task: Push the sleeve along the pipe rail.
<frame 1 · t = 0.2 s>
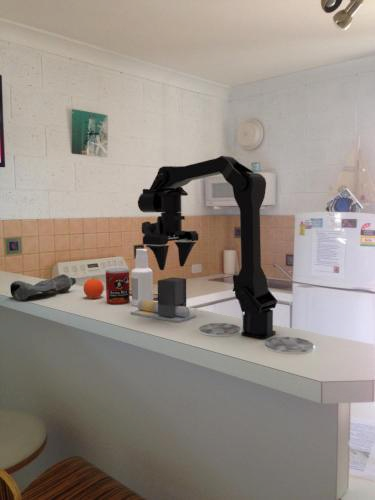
hand: (172, 268, 130), 14 cm above the table, tool pointing down, fingers open, 9 cm apart
sleeve: (172, 296, 132), point 6 cm above the table, slide at 0.0 cm
pipe rail: (162, 315, 135), on the table
clementine: (95, 298, 161), on the table
spray bottle: (142, 305, 150), on the table
canned food: (118, 302, 154), on the table
crushed bottle: (45, 296, 167), on the table
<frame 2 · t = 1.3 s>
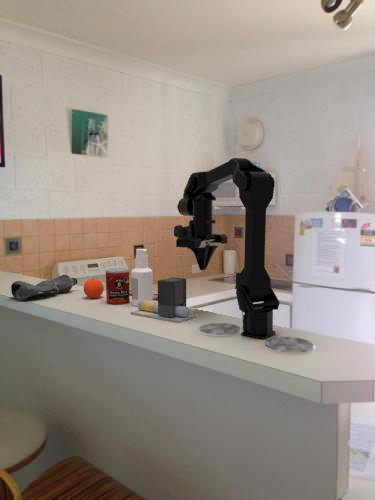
hand: (202, 269, 136), 13 cm above the table, tool pointing down, fingers closed
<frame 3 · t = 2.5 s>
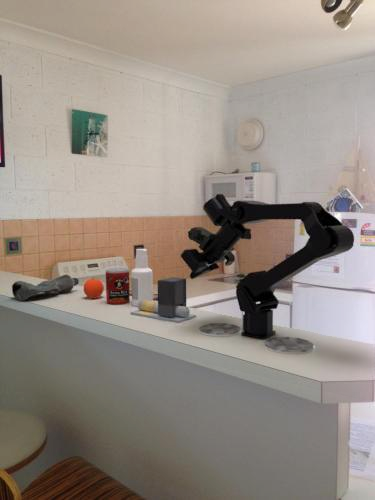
hand: (191, 277, 127), 12 cm above the table, tool tilted 45°, fingers closed
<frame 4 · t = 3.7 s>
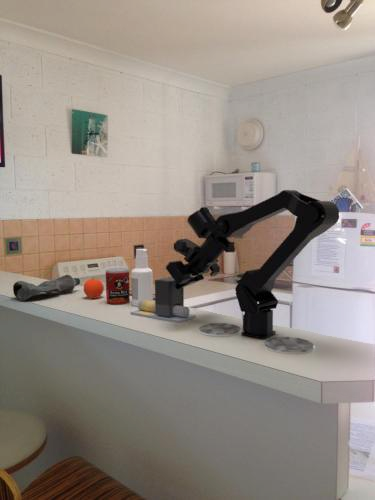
hand: (177, 287, 131), 9 cm above the table, tool tilted 45°, fingers closed, pressing on sleeve
sleeve: (169, 296, 133), point 6 cm above the table, slide at 1.0 cm, touching gripper
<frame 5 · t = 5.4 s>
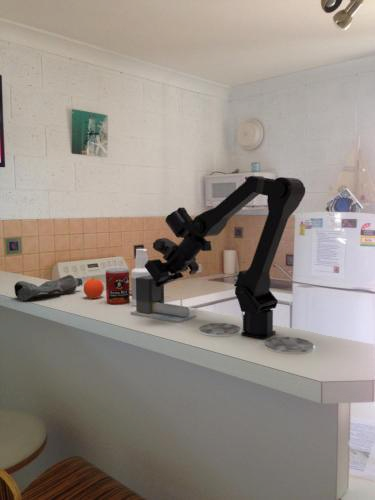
hand: (157, 285, 135), 9 cm above the table, tool tilted 45°, fingers closed
sleeve: (150, 293, 137), point 6 cm above the table, slide at 8.3 cm
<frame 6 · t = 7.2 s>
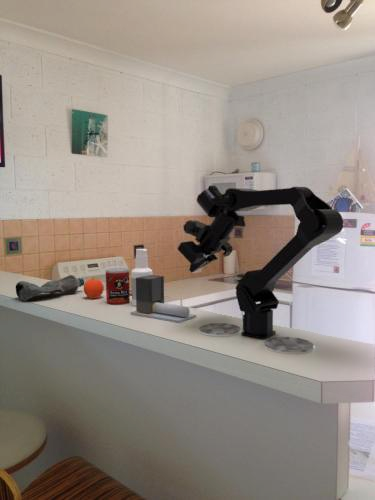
hand: (191, 271, 129), 14 cm above the table, tool tilted 40°, fingers closed
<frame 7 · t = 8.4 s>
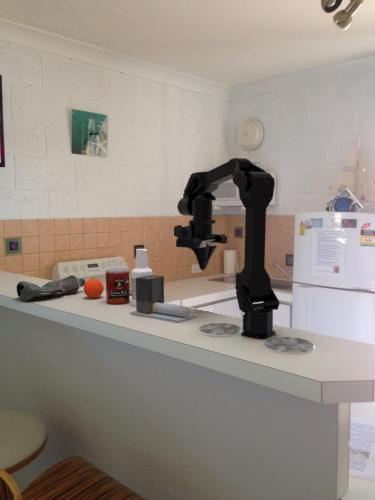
hand: (202, 269, 136), 13 cm above the table, tool pointing down, fingers closed
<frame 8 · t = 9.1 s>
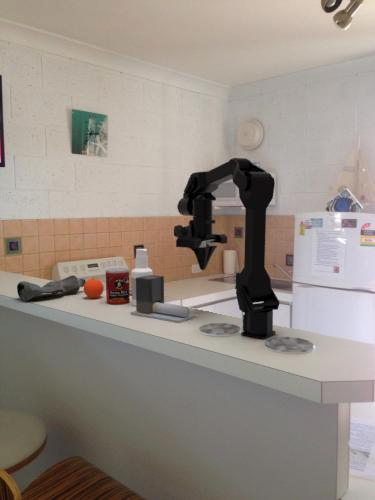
hand: (202, 269, 136), 13 cm above the table, tool pointing down, fingers closed
at the end: sleeve slide at 8.3 cm; sleeve touching nothing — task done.
